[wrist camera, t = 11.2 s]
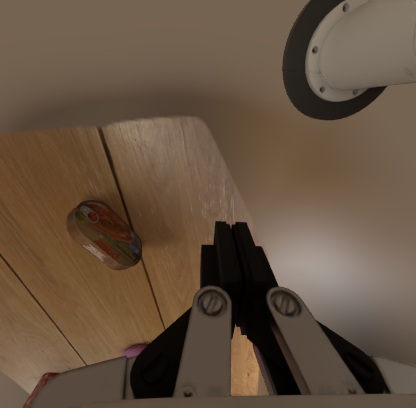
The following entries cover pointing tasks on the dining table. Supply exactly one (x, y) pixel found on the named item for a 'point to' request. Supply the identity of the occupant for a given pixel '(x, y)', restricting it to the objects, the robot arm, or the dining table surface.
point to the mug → (38, 388)
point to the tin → (104, 235)
